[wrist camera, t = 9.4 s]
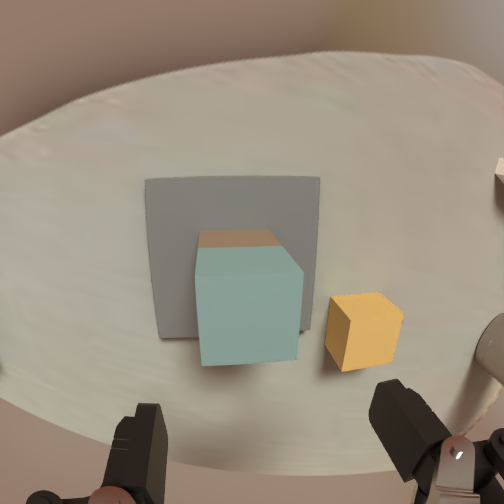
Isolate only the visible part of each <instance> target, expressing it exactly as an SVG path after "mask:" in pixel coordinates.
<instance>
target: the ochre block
mask: <svg viewBox="0 0 504 504" xmlns="http://www.w3.org/2000/svg"><path fill="white" fill-rule="evenodd" d="M403 315H404V313H403V312H402V311H400V310H399V309H398V308H397V307H396V306H395V305H393V304H392V303H391V302H390V301H389V300H388V299H386V298H385V297H384V296H383V295H382V294H381V293H379V292H377V293H366V294H355V295H343V296H331V298H330V306H329V314H328V322H327V330H326V337H325V346H326V347H327V349H328V351H329V352H330V354H331V356H332V357H333V359H334V361H335V362H336V364H337V366H338V367H339V369H340V371H341V372H344V371H350V370H356V369H361V368H367V367H372V366H377V365H382V364H386V363H391V362H392V358H393V355H394V351H395V347H396V343H397V340H398V336H399V332H400V327H401V323H402V319H403Z"/></svg>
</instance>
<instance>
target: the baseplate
mask: <svg viewBox="0 0 504 504" xmlns="http://www.w3.org/2000/svg"><path fill="white" fill-rule="evenodd" d="M319 196H320V178H319V177H306V176H202V177H175V178H156V179H146V180H145V201H146V218H147V233H148V246H149V257H150V267H151V277H152V286H153V294H154V302H155V310H156V317H157V324H158V331H159V338H188V337H199V330H198V318H197V304H196V289H195V270H196V260H197V252H198V248H225V247H260V246H283V247H284V249H285V250H286V251H287V252H288V253H289V255H290V256H291V257H292V258H293V259H294V261H295V262H296V263H297V264H298V266H299V267H300V268H301V269H302V271H303V272H304V278H303V292H302V305H301V317H300V328H299V331H304V330H310V325H311V314H312V304H313V292H314V280H315V267H316V253H317V237H318V219H319Z"/></svg>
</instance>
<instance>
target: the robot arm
mask: <svg viewBox="0 0 504 504" xmlns="http://www.w3.org/2000/svg"><path fill="white" fill-rule="evenodd" d="M476 361H477V362H478V363H479V364H480V365H481V366H482V367H483V368H484V369H485V370H487V371H488V372H489V373H490V374H491V375H492V376H493V377H494V378H495V379H496V380H497V381H498V382H499V383H501V384H502V385H503V386H504V313H502V314H500V315H499V316H497V317H496V318H495V319H494V320H493V321H492V322H491V323H490V325H489V326H488V327H487V329H486V330H485V332H484V333H483V335H482V337H481V339H480V341H479V343H478V346H477V349H476ZM369 420H370V423H371V425H372V427H373V429H374V430H375V432H376V434H377V436H378V437H379V439H380V441H381V443H382V444H383V446H384V448H385V450H386V451H387V453H388V455H389V457H390V458H391V460H392V462H393V464H394V465H395V467H396V469H397V471H398V472H399V474H400V476H401V477H402V479H403V481H404V482H407V481H410V480H412V479H415V480H416V481H417V483H416V485H415V487H414V491H413V495H412V499H411V503H410V504H504V490H503V488H502V486H501V485H500V483H499V482H498V480H497V479H496V477H495V476H496V475H497V474H498V473H499V474H500V475H501V477H502V478H503V479H504V428H500V429H497V430H495V431H494V432H493V433H492V435H491V436H490V438H489V439H488V440H483V441H477V442H471V441H470V440H468V439H467V438H465V437H463V436H452V434H451V433H450V432H449V431H448V429H447V428H446V427H445V426H444V424H443V423H442V422H441V421H440V419H439V418H438V417H437V416H436V414H435V413H434V412H432V409H431V408H430V407H429V406H428V405H426V402H425V401H424V399H423V398H422V397H421V396H420V395H419V394H418V393H416V392H415V391H413V390H412V389H410V388H407V389H406V388H405V387H404V386H403V384H402V383H401V382H400V381H399V380H398V379H392V380H388V381H384V382H380V383H378V384H377V386H376V389H375V393H374V396H373V399H372V402H371V406H370V409H369ZM111 447H112V448H111V450H110V454H109V458H108V462H107V467H106V471H105V475H104V479H103V483H102V485H101V487H100V488H99V489H97V490H95V491H94V492H93V493H92V494H91V495H90V496H88V497H85V498H75V499H61V498H60V497H59V496H58V495H56V494H55V493H53V492H50V491H46V490H42V491H37V492H35V493H33V494H32V495H30V497H29V498H28V499H27V502H26V504H164V493H165V478H166V464H167V452H168V435H167V430H166V426H165V422H164V418H163V414H162V411H161V407H160V404H149V403H138V405H137V408H136V413H135V417H128V416H125V417H124V418H123V419H122V420H121V422H120V423H119V424H118V425H117V427H116V430H115V434H114V440H113V442H112V446H111Z"/></svg>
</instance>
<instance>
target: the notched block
mask: <svg viewBox="0 0 504 504" xmlns="http://www.w3.org/2000/svg"><path fill="white" fill-rule="evenodd" d="M495 174H496V176H497V177H498V178H499V179H500V180H501V181H502V183H503V184H504V158H499V161H498V164H497V168H496V171H495Z"/></svg>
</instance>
